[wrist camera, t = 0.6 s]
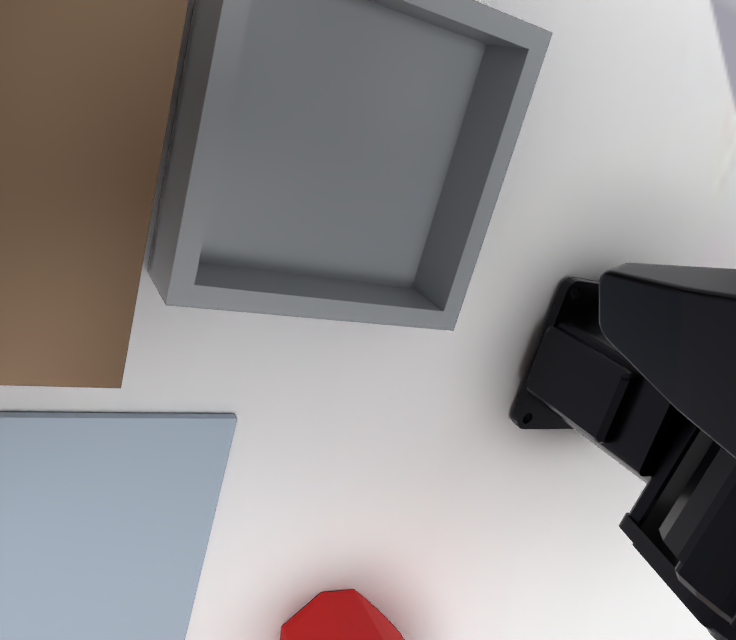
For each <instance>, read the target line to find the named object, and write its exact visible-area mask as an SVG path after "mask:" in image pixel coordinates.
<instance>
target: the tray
mask: <svg viewBox="0 0 736 640" xmlns="http://www.w3.org/2000/svg"><path fill="white" fill-rule="evenodd" d="M551 36H552V32H549V31H547V30H545V29H542V28H540V27H537V26H535V25H532V24H530V23H528V22H525V21H523V20H520V19H518V18H515V17H513V16H511V15H508V14H506V13H503V12H501V11H498V10H496V9H494V8H491V7H489V6H486V5H484V4H481V3H479V2H477V1H474V0H195V5H194V10H193V16H192V21H191V27H190V33H189V38H188V44H187V50H186V55H185V61H184V67H183V72H182V78H181V83H180V89H179V95H178V100H177V106H176V112H175V117H174V123H173V128H172V134H171V140H170V145H169V151H168V157H167V162H166V168H165V174H164V179H163V185H162V190H161V196H160V202H159V207H158V213H157V219H156V224H155V230H154V235H153V241H152V247H151V252H150V258H149V264H148V269H147V272H148V274H149V275H150V277H151V279H152V281H153V283H154V285H155V286H156V288H157V290H158V292H159V294H160V296H161V297H162V299H163V301H164V303H165V305H171V306H182V307H193V308H204V309H216V310H227V311H238V312H249V313H260V314H272V315H283V316H294V317H305V318H317V319H328V320H339V321H350V322H362V323H373V324H384V325H395V326H407V327H418V328H429V329H440V330H451V331H454V328H455V325H456V322H457V319H458V316H459V313H460V310H461V306H462V303H463V300H464V297H465V294H466V291H467V288H468V285H469V282H470V279H471V276H472V273H473V270H474V267H475V264H476V261H477V258H478V255H479V252H480V249H481V246H482V243H483V240H484V237H485V234H486V231H487V228H488V225H489V222H490V219H491V216H492V213H493V210H494V207H495V204H496V201H497V198H498V195H499V192H500V189H501V186H502V183H503V180H504V177H505V174H506V171H507V168H508V165H509V162H510V159H511V156H512V153H513V150H514V147H515V144H516V141H517V138H518V135H519V132H520V129H521V126H522V123H523V120H524V117H525V114H526V111H527V108H528V105H529V102H530V99H531V96H532V93H533V90H534V87H535V84H536V81H537V78H538V75H539V72H540V69H541V66H542V63H543V60H544V57H545V54H546V51H547V48H548V45H549V42H550V39H551Z"/></svg>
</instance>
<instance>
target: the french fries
mask: <svg viewBox="0 0 736 640" xmlns="http://www.w3.org/2000/svg"><path fill="white" fill-rule="evenodd" d="M280 640H404V638H403V637H402V635H401V634H400V632H399V631H398V630H397V629H396V628H395V627H394V625H393V624H392V623H391V622H390V621H389V620H388V619H387V618H386V617H385V616H384V615H383V614H382V613H381V612H380V611H379V610H378V609H377V608H376V607H374V606H373V605H372V604H371V603H370V602H369V601H368V600H367V599H365V598H364V597H363V596H362V595H360V594H359V593H358V592H357V591H355V590H354V589H353V590H342V591H331V592H321V593H320V594H319V595H318V596H316V597H315V598H314V599H313V600H312V601H311V602H310V603H308V604H307V605H306V606H305V607H304V608H303V609H301V610H300V611H299V612H298V613H297V614H296V615H295V616H293V617H292V618H291V619H290V620H289V621H288V622H286V623H285V624H284V625H283V626H282V628H281V638H280Z"/></svg>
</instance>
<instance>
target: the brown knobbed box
mask: <svg viewBox="0 0 736 640" xmlns="http://www.w3.org/2000/svg"><path fill="white" fill-rule="evenodd" d="M188 1H189V0H0V385H16V386H54V387H93V388H121V385H122V379H123V373H124V367H125V362H126V356H127V350H128V344H129V339H130V333H131V327H132V322H133V316H134V310H135V304H136V299H137V293H138V287H139V282H140V276H141V270H142V264H143V259H144V253H145V247H146V241H147V236H148V230H149V224H150V219H151V213H152V207H153V201H154V196H155V190H156V184H157V179H158V173H159V167H160V161H161V156H162V150H163V144H164V139H165V133H166V127H167V121H168V116H169V110H170V104H171V98H172V93H173V87H174V81H175V76H176V70H177V64H178V58H179V53H180V47H181V41H182V36H183V30H184V24H185V18H186V13H187V7H188Z"/></svg>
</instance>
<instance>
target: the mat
mask: <svg viewBox="0 0 736 640" xmlns="http://www.w3.org/2000/svg"><path fill="white" fill-rule="evenodd" d="M236 422H237V417H236V416H235V414H176V413H52V412H0V640H185V637H186V633H187V629H188V625H189V620H190V616H191V612H192V608H193V603H194V599H195V595H196V591H197V587H198V582H199V578H200V574H201V570H202V565H203V561H204V557H205V553H206V549H207V544H208V540H209V536H210V532H211V527H212V523H213V519H214V515H215V511H216V506H217V502H218V498H219V494H220V490H221V485H222V481H223V477H224V473H225V468H226V464H227V460H228V456H229V452H230V447H231V443H232V439H233V435H234V430H235V426H236Z"/></svg>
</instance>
